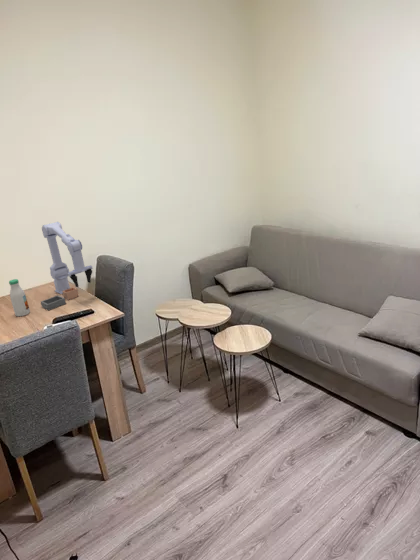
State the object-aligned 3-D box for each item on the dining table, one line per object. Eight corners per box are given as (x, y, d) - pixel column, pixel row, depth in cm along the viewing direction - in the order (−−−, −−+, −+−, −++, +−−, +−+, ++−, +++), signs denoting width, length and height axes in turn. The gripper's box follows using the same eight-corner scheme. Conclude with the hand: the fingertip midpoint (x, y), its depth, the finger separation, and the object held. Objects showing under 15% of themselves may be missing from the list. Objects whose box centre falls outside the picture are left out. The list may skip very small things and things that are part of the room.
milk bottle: (24, 316, 219) (15, 282, 212) (12, 316, 221) (2, 283, 214) (33, 310, 226) (23, 277, 219) (21, 310, 228) (11, 278, 221)
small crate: (64, 298, 239) (62, 291, 237) (74, 294, 244) (72, 287, 242) (68, 300, 236) (66, 292, 234) (78, 296, 240) (77, 288, 239)
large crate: (41, 307, 230) (40, 301, 229) (59, 300, 237) (57, 295, 236) (48, 310, 224) (47, 304, 223) (66, 303, 231) (64, 298, 230)
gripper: (69, 266, 217) (75, 289, 222) (93, 259, 227) (97, 281, 231) (63, 264, 222) (69, 287, 227) (87, 257, 231) (91, 279, 236)
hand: (83, 284), depth 229 cm, fingers open, 7 cm apart
